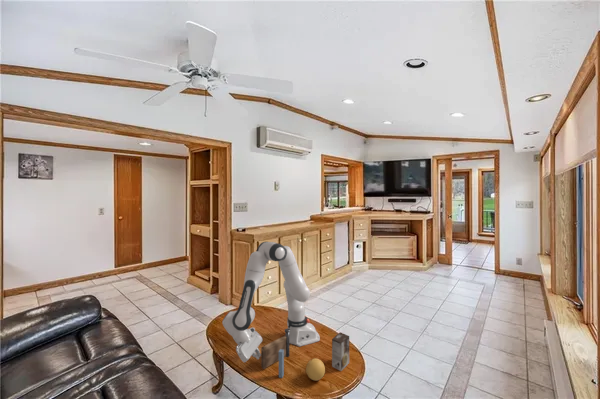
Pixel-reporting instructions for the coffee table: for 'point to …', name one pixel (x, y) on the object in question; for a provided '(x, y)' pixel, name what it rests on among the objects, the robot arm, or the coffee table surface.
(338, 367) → the coffee box
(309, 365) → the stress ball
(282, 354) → the post
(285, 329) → the hinge post
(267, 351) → the wooden gate panel
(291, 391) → the coffee table surface
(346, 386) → the coffee table surface
